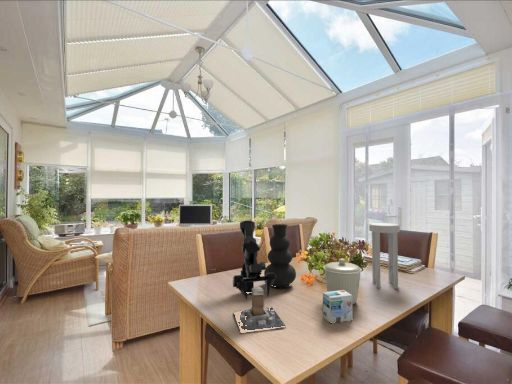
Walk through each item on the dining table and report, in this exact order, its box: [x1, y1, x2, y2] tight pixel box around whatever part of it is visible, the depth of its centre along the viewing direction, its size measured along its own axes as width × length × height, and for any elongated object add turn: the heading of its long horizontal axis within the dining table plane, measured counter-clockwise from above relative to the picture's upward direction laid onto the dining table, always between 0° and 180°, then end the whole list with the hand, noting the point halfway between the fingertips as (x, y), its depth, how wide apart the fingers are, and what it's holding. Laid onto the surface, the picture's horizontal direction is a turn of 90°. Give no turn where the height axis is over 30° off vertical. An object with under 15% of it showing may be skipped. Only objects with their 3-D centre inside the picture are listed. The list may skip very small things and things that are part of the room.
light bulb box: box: [322, 290, 353, 324], centre depth 115 cm, size 11×7×11 cm, turn 105°
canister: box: [322, 258, 363, 306], centre depth 133 cm, size 18×18×21 cm
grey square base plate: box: [238, 306, 286, 330], centre depth 114 cm, size 18×18×4 cm
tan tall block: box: [251, 287, 265, 316], centre depth 114 cm, size 4×4×12 cm
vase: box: [263, 223, 297, 288], centre depth 157 cm, size 18×18×35 cm
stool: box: [368, 222, 401, 290], centre depth 157 cm, size 16×16×35 cm
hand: (257, 298), depth 114 cm, fingers open, 9 cm apart
